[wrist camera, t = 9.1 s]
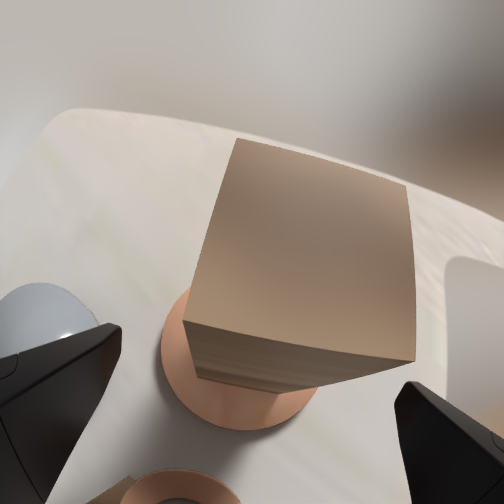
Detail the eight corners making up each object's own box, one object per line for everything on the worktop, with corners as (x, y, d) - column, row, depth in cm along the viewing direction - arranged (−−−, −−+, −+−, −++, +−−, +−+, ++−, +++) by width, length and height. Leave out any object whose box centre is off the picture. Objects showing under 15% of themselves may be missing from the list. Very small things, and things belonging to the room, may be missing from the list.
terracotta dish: (310, 436, 17) (317, 437, 16) (148, 411, 17) (145, 411, 16) (325, 291, 22) (331, 285, 21) (182, 263, 21) (181, 256, 20)
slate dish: (93, 455, 15) (86, 457, 14) (-22, 398, 14) (-32, 396, 13) (125, 309, 19) (120, 303, 18) (11, 275, 19) (4, 268, 18)
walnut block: (279, 394, 17) (415, 361, 6) (197, 377, 17) (182, 319, 6) (291, 317, 19) (405, 185, 8) (215, 301, 19) (236, 137, 8)
